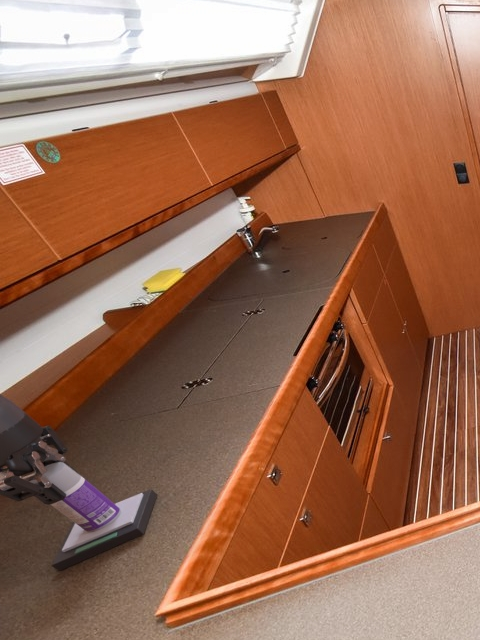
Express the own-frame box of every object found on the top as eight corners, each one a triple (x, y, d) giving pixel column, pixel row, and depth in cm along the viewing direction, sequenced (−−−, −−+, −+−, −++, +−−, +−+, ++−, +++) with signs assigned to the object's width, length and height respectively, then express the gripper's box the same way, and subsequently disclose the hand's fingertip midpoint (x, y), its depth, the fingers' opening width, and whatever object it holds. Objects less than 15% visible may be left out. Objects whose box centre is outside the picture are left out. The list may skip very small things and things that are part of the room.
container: (122, 503, 82) (67, 456, 74) (120, 519, 79) (62, 473, 72) (87, 519, 79) (26, 473, 72) (83, 537, 76) (20, 491, 69)
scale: (59, 571, 74) (48, 564, 73) (81, 526, 81) (71, 518, 80) (144, 534, 79) (135, 526, 78) (158, 494, 86) (149, 487, 85)
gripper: (-27, 409, 68) (50, 471, 77) (-85, 472, 58) (11, 535, 67) (41, 390, 72) (107, 451, 81) (-2, 445, 62) (79, 508, 71)
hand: (63, 489), depth 74 cm, fingers closed on container, 4 cm apart
